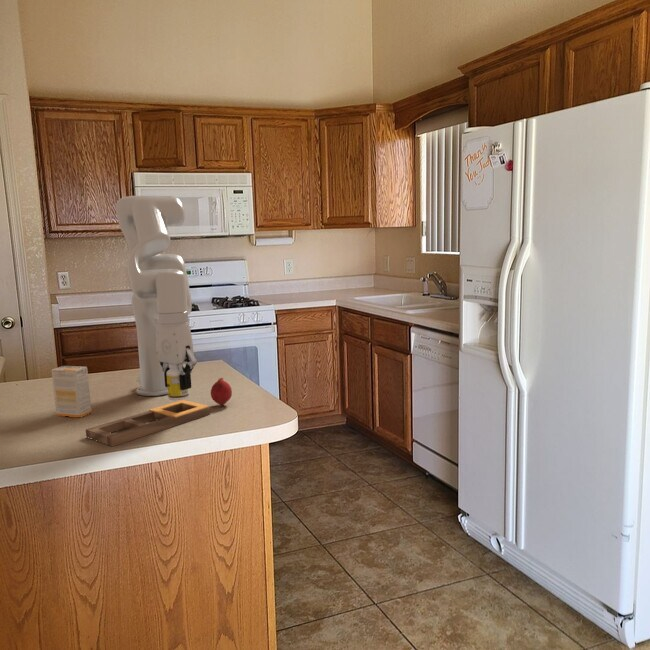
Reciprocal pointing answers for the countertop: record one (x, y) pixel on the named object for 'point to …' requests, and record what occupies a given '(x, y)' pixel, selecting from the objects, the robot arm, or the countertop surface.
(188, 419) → the socket rail
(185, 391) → the supplement bottle
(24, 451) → the countertop surface
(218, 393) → the onion
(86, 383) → the supplement box
